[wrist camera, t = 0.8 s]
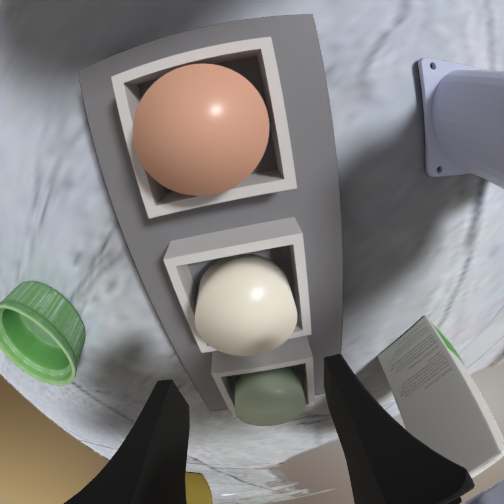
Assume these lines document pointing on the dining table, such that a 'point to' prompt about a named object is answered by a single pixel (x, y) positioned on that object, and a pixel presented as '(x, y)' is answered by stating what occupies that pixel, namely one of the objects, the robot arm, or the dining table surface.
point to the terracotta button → (200, 129)
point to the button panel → (233, 195)
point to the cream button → (245, 305)
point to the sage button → (269, 397)
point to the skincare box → (441, 398)
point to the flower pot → (197, 489)
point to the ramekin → (41, 333)
